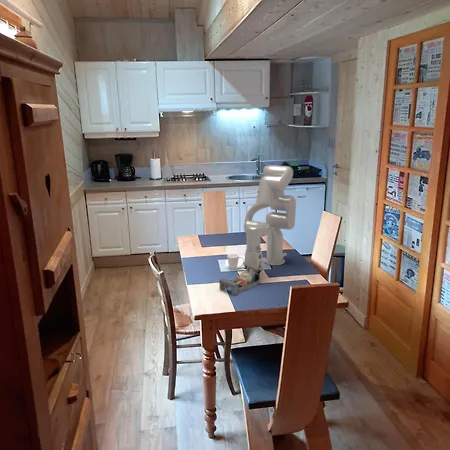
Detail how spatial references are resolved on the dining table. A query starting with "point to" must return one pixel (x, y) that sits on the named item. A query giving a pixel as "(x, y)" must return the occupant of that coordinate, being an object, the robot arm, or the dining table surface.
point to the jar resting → (247, 276)
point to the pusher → (240, 281)
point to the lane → (235, 285)
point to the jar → (252, 273)
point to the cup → (233, 261)
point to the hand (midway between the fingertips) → (253, 278)
